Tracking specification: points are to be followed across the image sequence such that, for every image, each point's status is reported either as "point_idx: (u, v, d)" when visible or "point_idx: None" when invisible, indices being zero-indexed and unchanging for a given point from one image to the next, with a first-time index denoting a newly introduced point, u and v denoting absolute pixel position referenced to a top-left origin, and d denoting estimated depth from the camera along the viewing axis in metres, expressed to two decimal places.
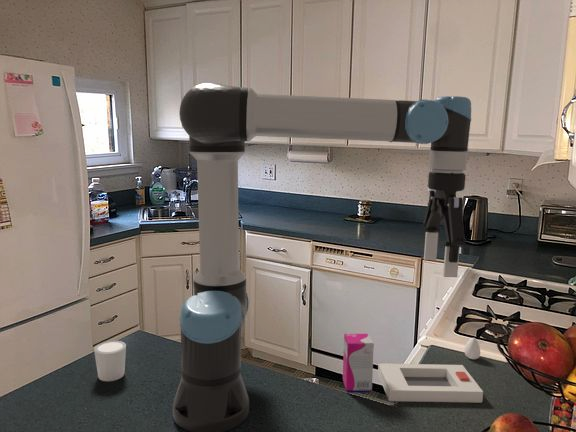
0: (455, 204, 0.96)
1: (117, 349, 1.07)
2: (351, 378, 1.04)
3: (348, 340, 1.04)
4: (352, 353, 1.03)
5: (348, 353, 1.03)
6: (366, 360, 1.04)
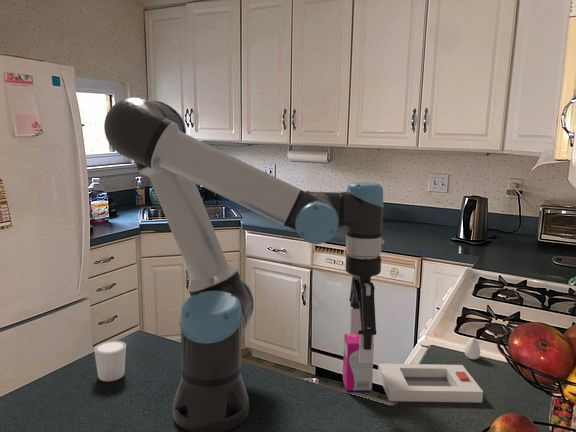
0: (367, 292, 0.97)
1: (117, 349, 1.07)
2: (351, 378, 1.04)
3: (348, 340, 1.04)
4: (352, 353, 1.03)
5: (348, 353, 1.03)
6: None
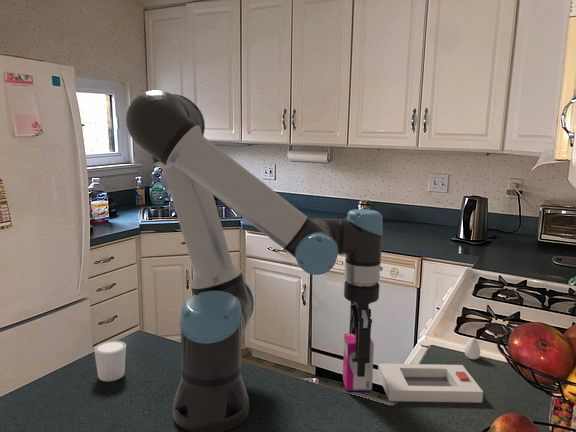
0: (364, 326, 0.98)
1: (117, 349, 1.07)
2: (351, 378, 1.04)
3: (348, 340, 1.04)
4: (352, 353, 1.03)
5: (348, 353, 1.03)
6: None
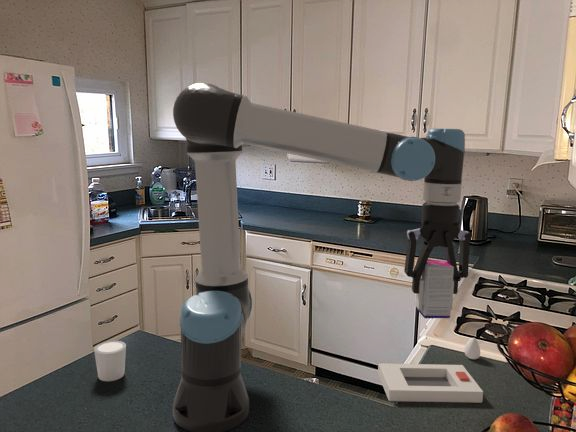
0: (408, 237, 1.02)
1: (117, 349, 1.07)
2: None
3: (427, 260, 1.05)
4: None
5: None
6: (424, 282, 1.02)
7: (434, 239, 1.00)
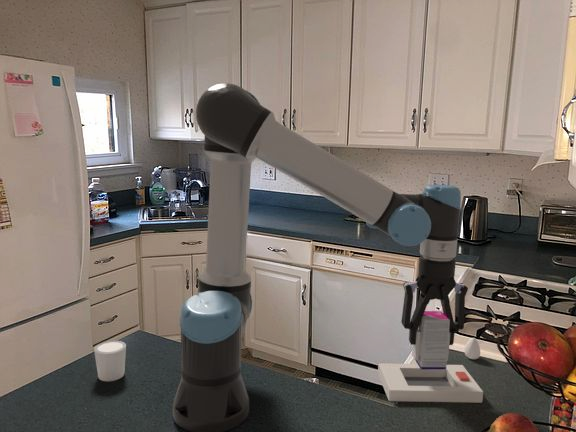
0: (405, 290, 1.04)
1: (117, 349, 1.07)
2: None
3: None
4: None
5: None
6: (421, 334, 1.04)
7: (430, 293, 1.02)
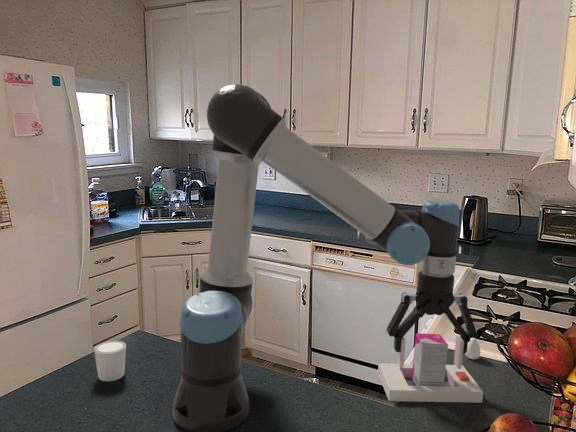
0: (402, 299, 1.04)
1: (117, 349, 1.07)
2: (413, 368, 1.09)
3: None
4: (415, 344, 1.08)
5: (415, 342, 1.09)
6: (419, 357, 1.05)
7: (427, 308, 1.03)
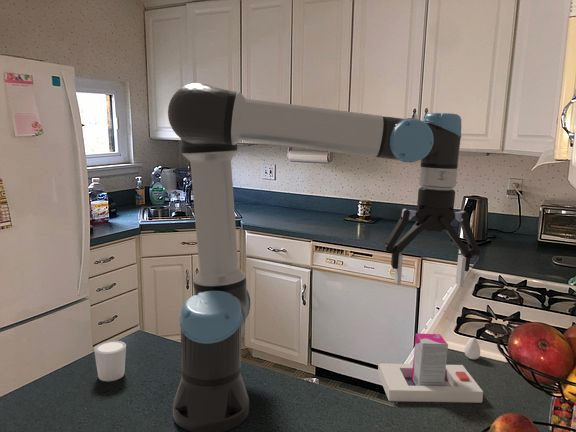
0: (402, 214, 1.02)
1: (117, 349, 1.07)
2: (413, 368, 1.09)
3: None
4: (415, 344, 1.08)
5: (415, 342, 1.09)
6: (418, 357, 1.05)
7: (427, 223, 1.01)
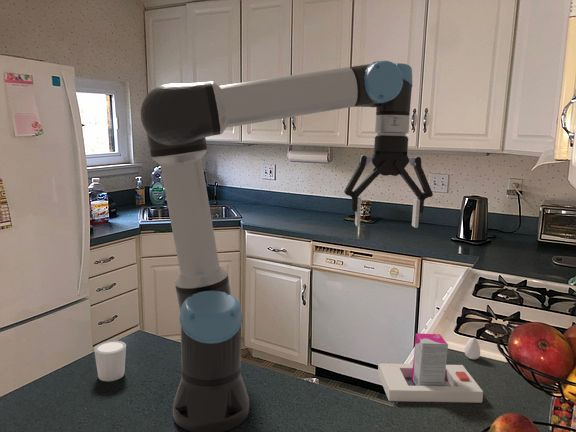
0: (360, 161, 1.10)
1: (117, 349, 1.07)
2: (413, 368, 1.09)
3: None
4: (415, 344, 1.08)
5: (415, 342, 1.09)
6: (418, 357, 1.05)
7: (383, 167, 1.08)
